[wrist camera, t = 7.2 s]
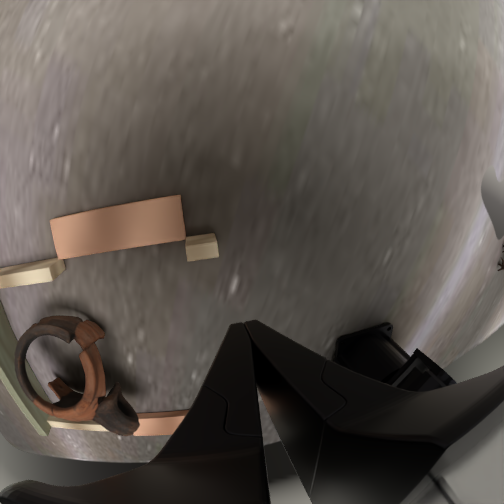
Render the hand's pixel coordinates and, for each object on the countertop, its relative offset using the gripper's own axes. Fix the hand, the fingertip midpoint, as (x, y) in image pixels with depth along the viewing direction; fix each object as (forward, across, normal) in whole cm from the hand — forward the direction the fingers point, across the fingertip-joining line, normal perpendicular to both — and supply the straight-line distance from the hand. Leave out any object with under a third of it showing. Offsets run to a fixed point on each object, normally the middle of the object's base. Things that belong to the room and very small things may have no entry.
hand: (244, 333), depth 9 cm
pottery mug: (+12, +13, +9) cm, 20 cm away
